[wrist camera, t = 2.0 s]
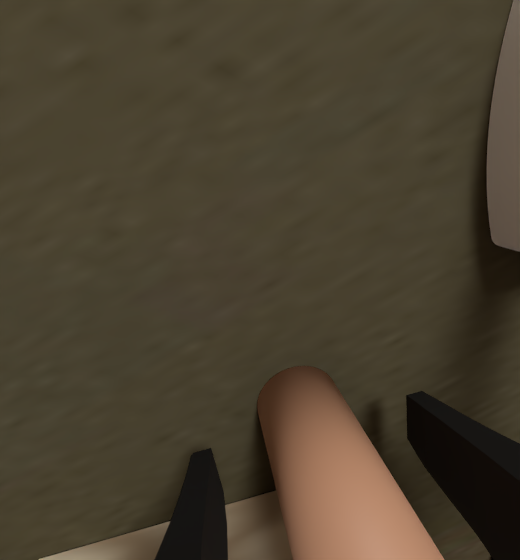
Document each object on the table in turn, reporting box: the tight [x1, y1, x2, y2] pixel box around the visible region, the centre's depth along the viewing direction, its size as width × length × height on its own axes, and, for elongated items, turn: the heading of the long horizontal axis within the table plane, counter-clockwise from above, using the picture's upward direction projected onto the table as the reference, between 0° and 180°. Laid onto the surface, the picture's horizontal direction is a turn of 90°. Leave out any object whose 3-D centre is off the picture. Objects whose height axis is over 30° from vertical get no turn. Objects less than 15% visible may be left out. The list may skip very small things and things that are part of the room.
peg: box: [257, 366, 444, 560], centre depth 10 cm, size 3×3×8 cm
